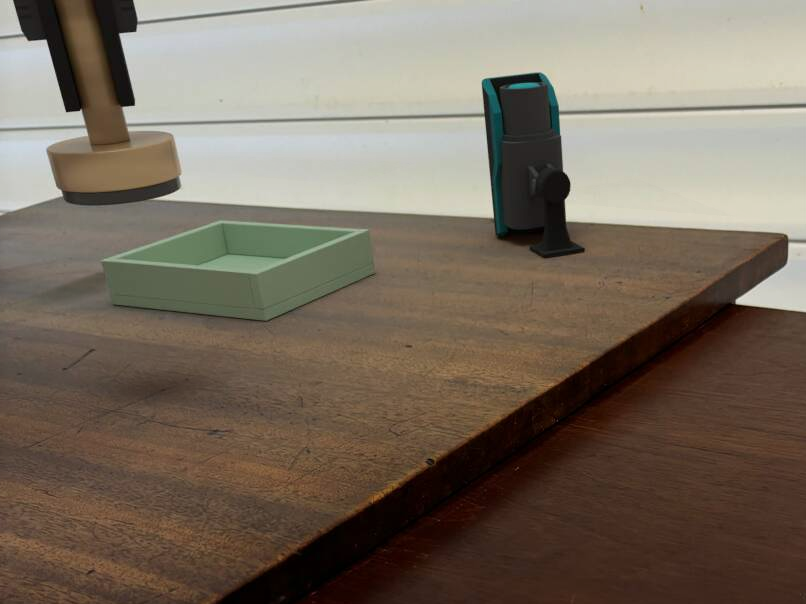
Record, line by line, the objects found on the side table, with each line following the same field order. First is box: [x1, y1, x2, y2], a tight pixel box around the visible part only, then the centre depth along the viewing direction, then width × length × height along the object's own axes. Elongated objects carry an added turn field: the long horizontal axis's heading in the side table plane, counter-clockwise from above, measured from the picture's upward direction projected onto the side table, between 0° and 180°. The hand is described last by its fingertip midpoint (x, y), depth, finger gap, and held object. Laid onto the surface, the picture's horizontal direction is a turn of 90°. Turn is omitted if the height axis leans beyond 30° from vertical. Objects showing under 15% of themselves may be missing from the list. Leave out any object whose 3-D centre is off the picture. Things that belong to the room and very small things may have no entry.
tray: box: [100, 219, 376, 322], centre depth 92 cm, size 16×14×3 cm
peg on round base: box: [45, 0, 182, 207], centre depth 63 cm, size 7×7×15 cm
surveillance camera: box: [481, 71, 586, 259], centre depth 96 cm, size 6×12×10 cm
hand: (100, 105), depth 65 cm, fingers closed on peg on round base, 2 cm apart
